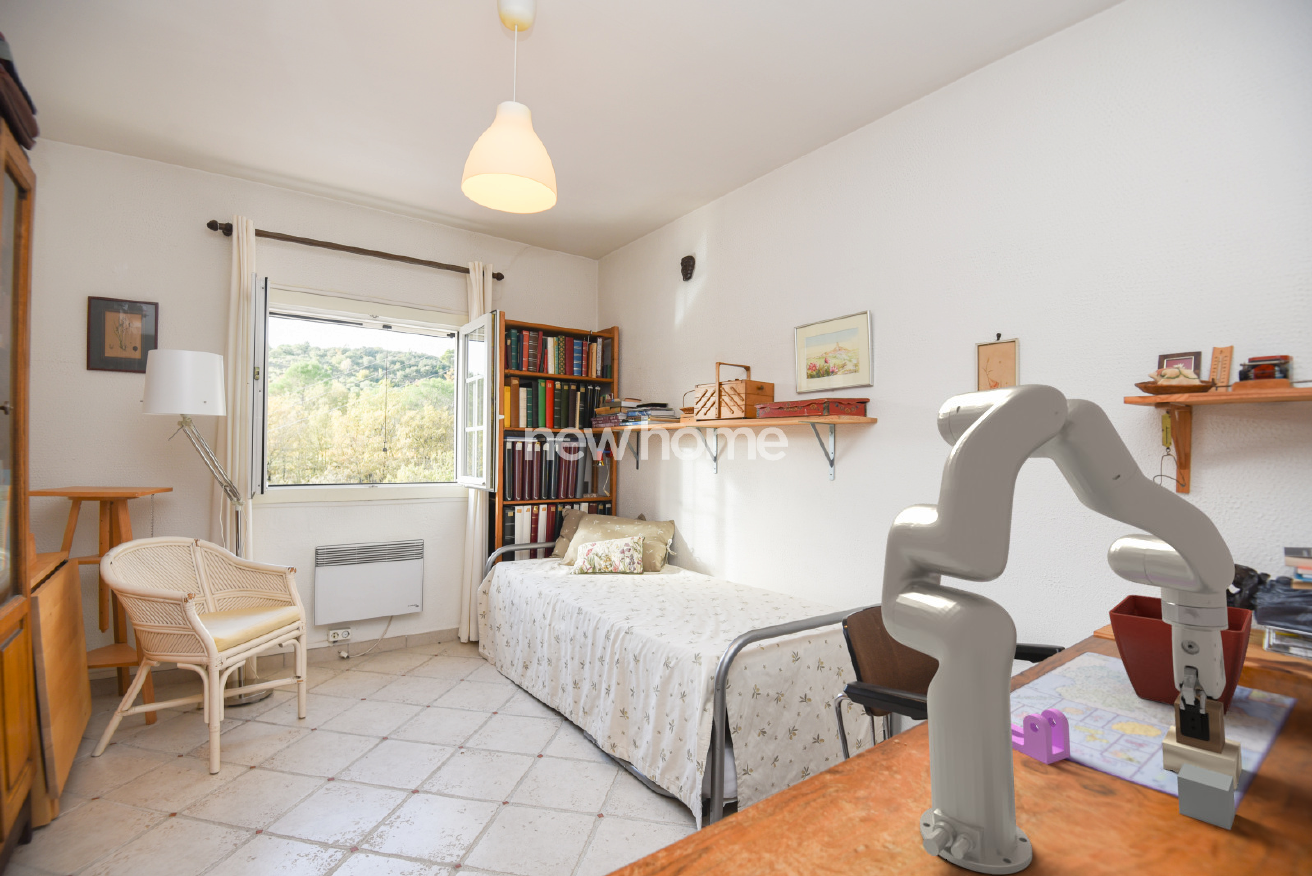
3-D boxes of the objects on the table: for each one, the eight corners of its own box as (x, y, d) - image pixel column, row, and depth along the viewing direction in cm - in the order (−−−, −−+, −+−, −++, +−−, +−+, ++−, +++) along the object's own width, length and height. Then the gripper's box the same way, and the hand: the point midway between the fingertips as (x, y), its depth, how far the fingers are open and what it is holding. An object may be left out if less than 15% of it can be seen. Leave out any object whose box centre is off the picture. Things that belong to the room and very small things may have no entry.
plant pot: (1249, 730, 102) (1243, 631, 103) (1111, 698, 117) (1107, 611, 117) (1258, 697, 115) (1253, 609, 115) (1133, 672, 129) (1129, 594, 130)
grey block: (1230, 830, 77) (1228, 791, 77) (1179, 813, 80) (1177, 776, 81) (1235, 814, 80) (1233, 776, 80) (1185, 799, 84) (1183, 762, 84)
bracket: (1070, 757, 96) (1068, 713, 96) (1047, 765, 94) (1044, 720, 94) (996, 724, 108) (994, 685, 108) (974, 731, 106) (972, 691, 106)
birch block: (1236, 789, 85) (1234, 761, 85) (1163, 768, 91) (1162, 742, 91) (1242, 768, 90) (1240, 742, 91) (1172, 750, 97) (1171, 725, 97)
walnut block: (1221, 754, 87) (1218, 712, 88) (1176, 742, 91) (1174, 702, 91) (1225, 742, 91) (1223, 702, 91) (1181, 731, 94) (1179, 693, 95)
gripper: (1220, 631, 83) (1227, 756, 83) (1234, 607, 94) (1240, 716, 94) (1150, 621, 89) (1157, 738, 88) (1172, 599, 100) (1177, 702, 100)
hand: (1200, 726), depth 91 cm, fingers open, 9 cm apart
